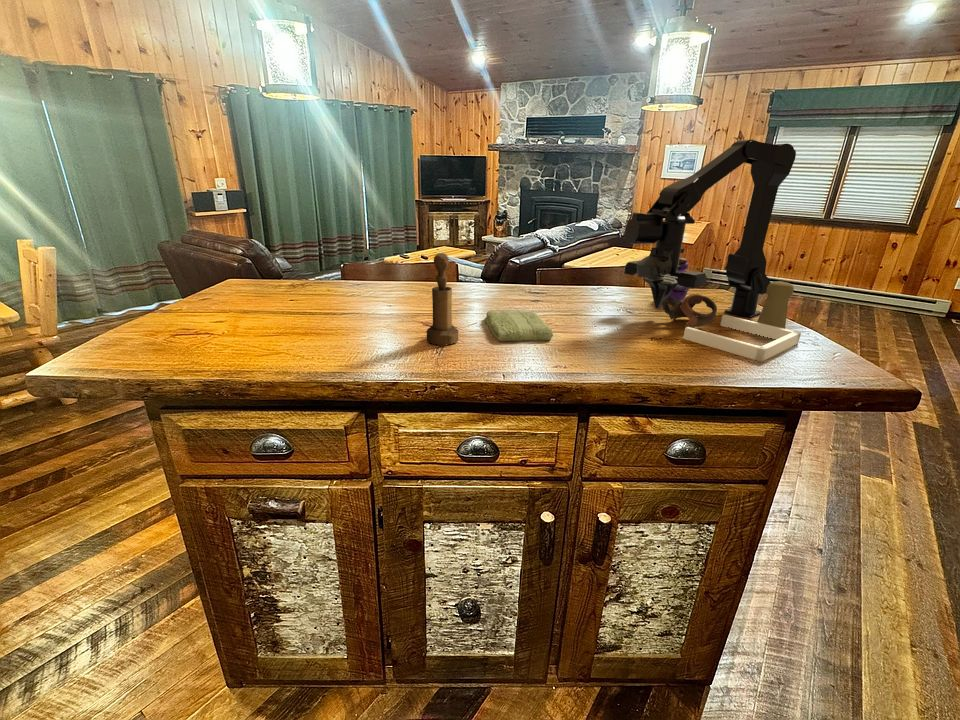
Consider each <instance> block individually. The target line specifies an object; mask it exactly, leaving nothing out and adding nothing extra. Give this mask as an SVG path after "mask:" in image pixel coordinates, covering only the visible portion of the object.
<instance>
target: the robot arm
mask: <svg viewBox="0 0 960 720" xmlns="http://www.w3.org/2000/svg"><path fill="white" fill-rule="evenodd" d="M796 155H797V151H796V149H795V148H794V146H793V145H792V144H790V143H787V142H786V143H773V144H772V143H769V142H762V141H758V140H755V139H739V140H736V141H735V142H733V143H732V144H731V145H730V147H728V148H727V149H726V150H724V151H723V152H722V153H720V154H719V155H717V156H716V157H715V158H713V159H712V160H711V161H709V162H708V163H707V164H706V165H704V166H703V167H701V168H700V169H698V170H697V171H696V172H694V173H693V174H692V175H689V176H688V177H685V178H682V179H679V180H677V181H674V182H672V183H671V184H669V185H667V186H665V187H663V189H662V190H661V191H660V192H659V193H658V194H659V196H658V197H657V200H655V202H653V204H652V206H651V207H650V208H649V209H648V211H647V212H646V213H644V212H643V213H642V212H633V213H632V215H631V218H630V219H629V221H627V223H626V226H625V228H624V237H625V242H627V243H628V244H629V245H651V244H655V246H652V247H651V249H650V253H649V255H648V256H647V255H646V256H645V257H643V258H642V259H640V260H634V261H628V262H627V263H626V264H625V265H624V268H623V273H624V274H625V275H630V276H635V275H636V274H637V275H636V276H637V277H638V278H643V280H642V281H644V282H645V283H647V284H648V286H649V287H650V290H651V291H650V292H651V295H652V299H653V303H654V307H655V309H656V310H659V309H661V308H662V302H663V301H664V300H665V299H666V298H667V297H668V296H669V294H670V293H671V292H672V290H673V289H674V288H675V287H676V286H677V285H679V286H684V287H688V288H690V289H695V288H700V287H704V286H706V284H707V282H708V281H707V280H708V276H707V275H706V273H705V272H701V271H696V270H687V271H686V270H685V272H677V271H679V270H680V269H681V266H678V264H679V258H681V254H683V253H685V248H683V241H684V236H685V231H686V225H689V224H690V225H694V224H695V223H696V221H695V219H694V218H693V217H692V216H691V214H690V211H691V210H692V209H693V208H695V207H696V205H697V204H699V202H701V200H702V199H703V195H704V194H705V193H706V192H707V191H708V190H709V189H710V188H712V187H713V186H715V184H717V183H718V182H720V181H721V180H722V179H724V178H726V176H728V175H730V173H733V171H735V170H736V169H738V168H739V167H740V166H742V165H743V164H748V165H751V166H750V176H751V178H752V182H753V185H754V186H753V189H752V190H753V191H752V194H751V198H750V203H749V206H748V207H749V208H748V210H747V211H748V212H747V215H746V221H745V224H744V228H743V233H742V237H741V241H740V245H739V247H738V249H737V250H736V251H735V252H733V253H729V254H728V256H727V262H726V264H725V265H726V266H725V267H724V270H725V271H726V272H725V275H726V278H727V284H728V287H732V288H735V289H734V293H733V297H732V301H731V305H730V308H726V309H724V312H725V313H729V314H732V315H733V314H734V315H738V316H741V317H747V318H752V317H755V316H758V315H760V314H761V311H760V310H757V307H758V304H759V299H760V296H761V295H764V294H767V287H768V285H769V284H770V283H771V282H772V281H770V279H769V277H768V275H767V274H766V272H767V271H766V270H767V259H766V254H765V253H764V246H765V242H766V237H767V233H768V230H769V225H770V223H771V218H772V214H773V211H774V206H775V203H776V198H777V194H778V191H779V187H780V185H781V184H782V183H783V182H784V181H785V180H786V179H787V177H788V176H789V175H790V173H791V171H792V168H793V166H794V163H795V160H796V158H797V157H796ZM669 274H670V275H669ZM662 277H664V278H662Z"/></svg>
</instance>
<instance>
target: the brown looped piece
mask: <svg viewBox="0 0 960 720" xmlns="http://www.w3.org/2000/svg"><path fill="white" fill-rule="evenodd" d="M702 302H703V303H705V305H706V308H709V309H711V312H710V313H701V312H698V311H695V310H694V309H693V308H694V306H696V305H699V304H701V303H702ZM669 305H670V306H671V307H672V308H671V307H670V306H669ZM661 308H662V310H663V311H664V313H665V314H667V315H668V316H669V319H670V320H673V321H675V320H676V319H679V318H680V319H681V318H687V319H688V321H687V323H686V324H685V326H684V327H685V328H686V327H691V328H695V329H696V327H697V328H699V327H703V326H707V325H710V324H712V322H714V321H715V319H716V316H717V312H718V307H717V305H716V303H715V302H714V301H713V300H712V299H711V298H709V297H708V296H705V295H703V294H699V293H693V294H689V295H686V297H685V298H684V299H682V300H678V299H676V298H673V297H668V298H666V299H665V300H664V301H663V302H662V306H661Z"/></svg>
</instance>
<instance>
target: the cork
mask: <svg viewBox="0 0 960 720" xmlns="http://www.w3.org/2000/svg"><path fill="white" fill-rule="evenodd" d="M770 282H771V283H770V284H769V285H768V287H767V293H766V294H767V296H766V300H765V302H764V305H763V306H762V310H761V311H760V312H761V314H759V317H758V318H757V321H756V322H758V323H762V324H766V325H771V326H775V327H779V328H783V329H786V324H787V316H788V307H789V299H790V297H792V295H793V294H794V291H795V287H794V285H793V284H792V283H790V282H787V281H781V280H779V281H777V280H776V281H770Z"/></svg>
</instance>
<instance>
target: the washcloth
mask: <svg viewBox="0 0 960 720" xmlns="http://www.w3.org/2000/svg"><path fill="white" fill-rule="evenodd" d="M484 323H487V324H486V325H487V326H489V327H488V329H489V330H490V331H491V333H492V335H493V336H494V337H495V338H496V340H497V341H498V340H499V341H498V342H501V341H506V342H522V341H524V340H525V341H532V340H533V342H537V341H538V340H539V342H540V341H542V342H544V341H545V340H546V341H550V340H552V337H553V336H554V335H553V334H554V333H553V330H552V328H551V327H550V326H549V325H548V324H546V323H545V321H544V320H543V319H542V318H541V317H540V316H539V314H538V313H537V312H534V311H523V310H522V311H520V310H504V311H494V310H489V311H487V312H486V317H485V318H484Z"/></svg>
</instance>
